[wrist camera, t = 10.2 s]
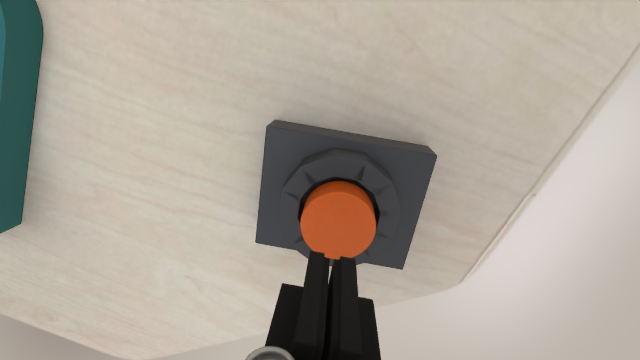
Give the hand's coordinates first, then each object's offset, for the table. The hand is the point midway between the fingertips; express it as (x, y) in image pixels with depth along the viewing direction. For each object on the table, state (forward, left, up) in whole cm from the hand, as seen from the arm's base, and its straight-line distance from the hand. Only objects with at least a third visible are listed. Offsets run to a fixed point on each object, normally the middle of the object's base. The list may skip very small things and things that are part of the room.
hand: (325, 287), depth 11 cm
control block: (0, 0, -11) cm, 11 cm away
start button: (0, 0, -7) cm, 7 cm away
